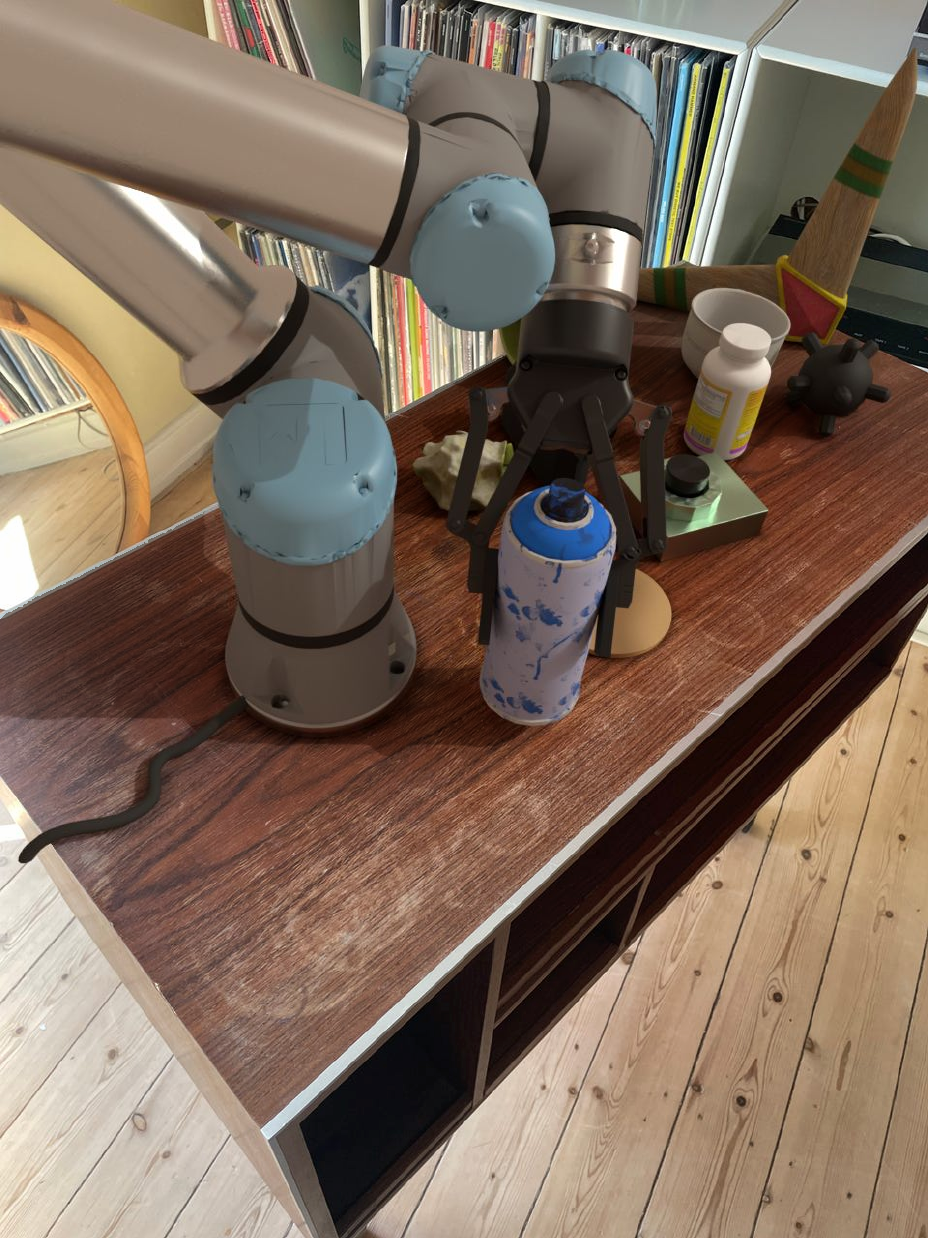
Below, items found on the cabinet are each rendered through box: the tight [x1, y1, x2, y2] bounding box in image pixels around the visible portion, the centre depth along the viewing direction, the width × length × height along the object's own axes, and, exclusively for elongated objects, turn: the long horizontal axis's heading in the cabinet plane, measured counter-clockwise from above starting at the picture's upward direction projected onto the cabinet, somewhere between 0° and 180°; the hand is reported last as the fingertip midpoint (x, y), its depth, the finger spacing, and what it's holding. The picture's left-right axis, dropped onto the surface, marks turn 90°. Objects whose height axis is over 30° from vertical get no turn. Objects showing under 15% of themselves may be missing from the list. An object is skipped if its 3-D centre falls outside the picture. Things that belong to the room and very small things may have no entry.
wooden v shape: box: [636, 46, 919, 346], centre depth 108 cm, size 22×41×6 cm
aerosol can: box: [478, 478, 616, 727], centre depth 65 cm, size 8×8×20 cm
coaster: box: [588, 568, 672, 659], centre depth 82 cm, size 11×11×1 cm
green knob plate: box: [618, 452, 770, 563], centre depth 89 cm, size 11×9×5 cm
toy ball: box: [784, 332, 892, 438], centre depth 99 cm, size 11×11×12 cm
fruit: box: [412, 430, 515, 512], centre depth 89 cm, size 9×9×8 cm
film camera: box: [500, 361, 619, 487], centre depth 93 cm, size 15×10×9 cm, turn 22°
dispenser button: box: [665, 453, 710, 498], centre depth 86 cm, size 4×4×2 cm
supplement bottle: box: [683, 323, 772, 461], centre depth 94 cm, size 7×7×13 cm
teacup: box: [680, 288, 790, 379], centre depth 103 cm, size 14×11×8 cm
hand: (542, 648), depth 64 cm, fingers closed on aerosol can, 7 cm apart
